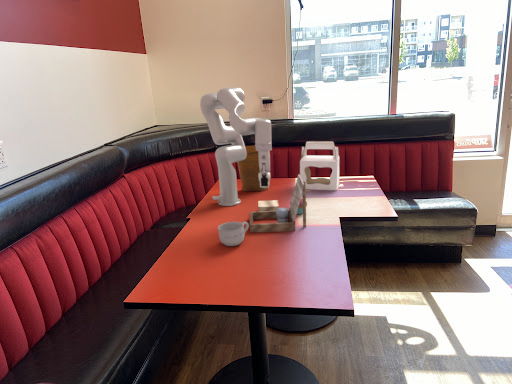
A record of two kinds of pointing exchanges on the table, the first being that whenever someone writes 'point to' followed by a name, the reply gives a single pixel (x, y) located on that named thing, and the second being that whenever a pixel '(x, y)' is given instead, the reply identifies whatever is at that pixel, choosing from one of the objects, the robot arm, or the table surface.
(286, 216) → the blue pot
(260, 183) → the cream pot
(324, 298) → the table surface
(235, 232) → the teacup
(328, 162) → the white carry box
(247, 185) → the pancake mix bag
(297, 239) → the table surface
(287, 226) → the cold frame
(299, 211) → the cupcake
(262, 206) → the stand
